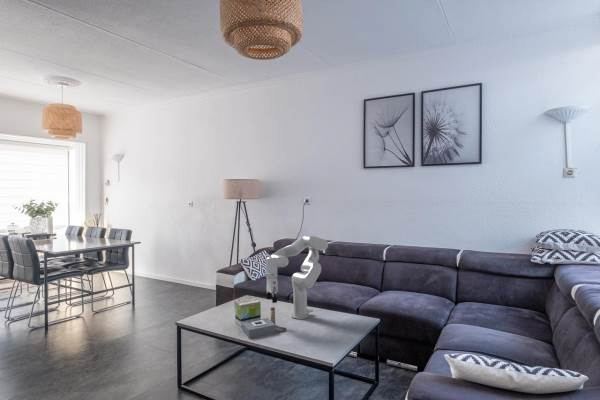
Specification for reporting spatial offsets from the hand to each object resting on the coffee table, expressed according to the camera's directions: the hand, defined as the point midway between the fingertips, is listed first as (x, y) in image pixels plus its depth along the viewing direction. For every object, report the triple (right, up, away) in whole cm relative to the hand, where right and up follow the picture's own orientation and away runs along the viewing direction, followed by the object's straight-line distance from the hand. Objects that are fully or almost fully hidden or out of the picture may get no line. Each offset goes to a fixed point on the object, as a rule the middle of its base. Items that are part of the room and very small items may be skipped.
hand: (271, 300), depth 240 cm
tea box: (-17, -18, +7) cm, 26 cm away
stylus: (+1, -17, +1) cm, 17 cm away
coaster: (+6, -17, -8) cm, 20 cm away
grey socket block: (-8, -17, -9) cm, 21 cm away
